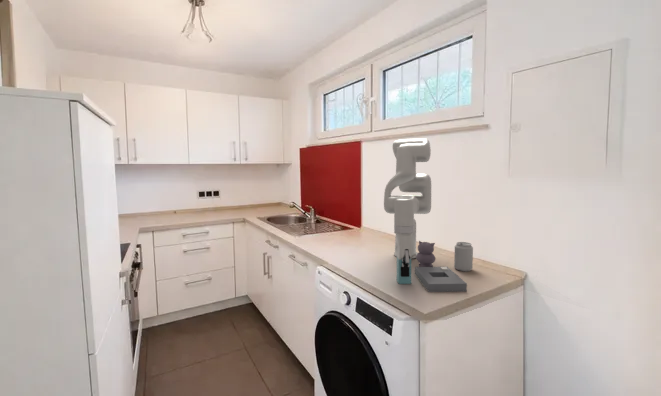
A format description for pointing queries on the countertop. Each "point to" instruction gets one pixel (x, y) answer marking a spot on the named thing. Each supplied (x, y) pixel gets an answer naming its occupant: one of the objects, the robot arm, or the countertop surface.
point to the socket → (440, 279)
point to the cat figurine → (425, 254)
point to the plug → (400, 279)
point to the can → (463, 256)
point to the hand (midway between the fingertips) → (403, 273)
